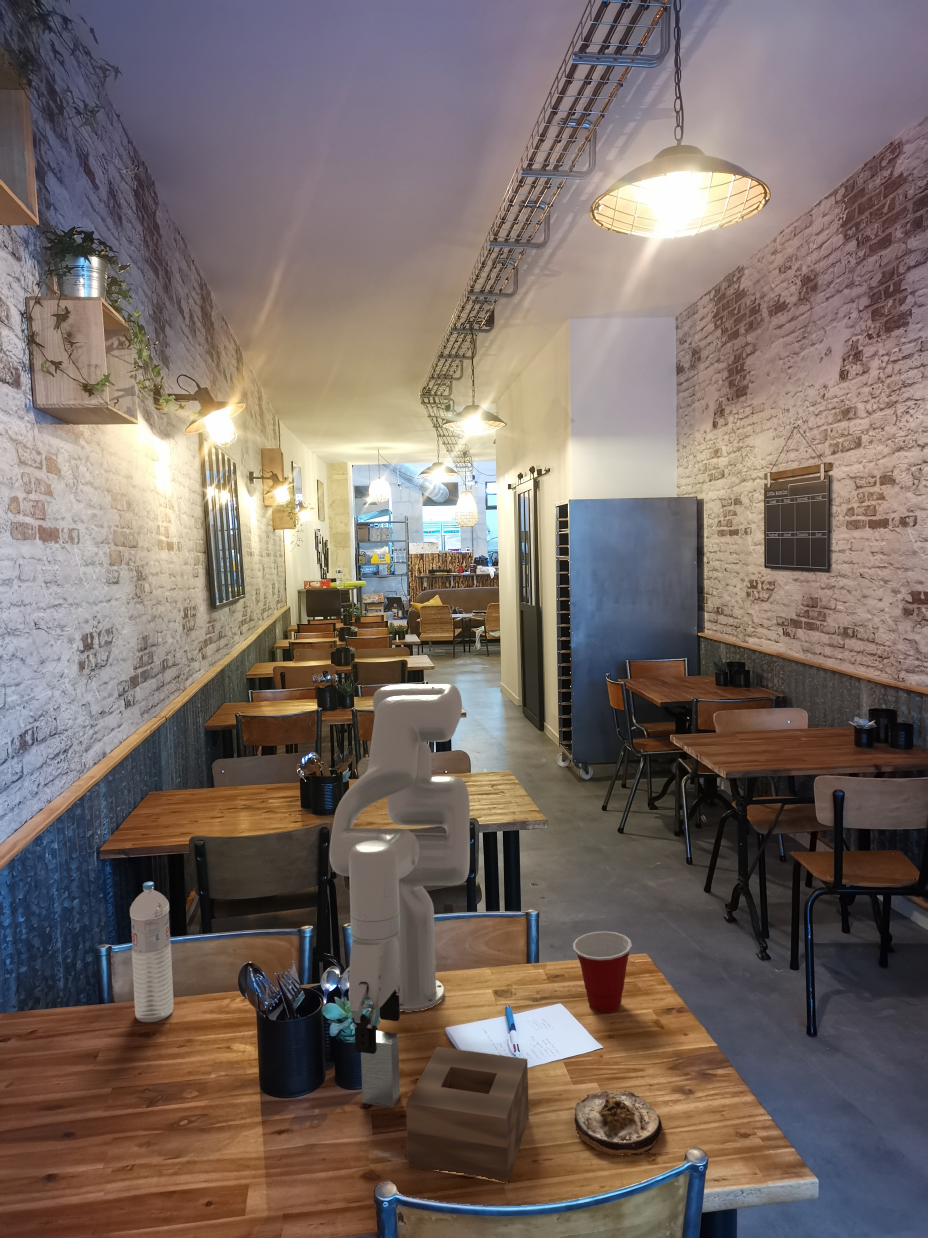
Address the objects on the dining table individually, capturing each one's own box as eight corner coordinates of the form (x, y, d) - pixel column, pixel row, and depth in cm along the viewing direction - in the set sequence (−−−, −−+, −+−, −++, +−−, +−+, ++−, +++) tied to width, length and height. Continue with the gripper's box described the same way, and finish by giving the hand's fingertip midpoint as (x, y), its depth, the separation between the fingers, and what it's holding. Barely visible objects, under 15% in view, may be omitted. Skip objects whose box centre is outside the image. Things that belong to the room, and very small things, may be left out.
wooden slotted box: (438, 1104, 129) (437, 1047, 128) (528, 1118, 125) (527, 1059, 124) (408, 1166, 115) (406, 1103, 115) (507, 1184, 111) (506, 1118, 111)
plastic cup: (567, 993, 161) (566, 932, 161) (622, 988, 162) (621, 928, 162) (581, 1023, 150) (580, 957, 150) (640, 1018, 152) (639, 953, 151)
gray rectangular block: (370, 1091, 132) (368, 1029, 132) (400, 1096, 131) (398, 1033, 130) (362, 1103, 129) (360, 1040, 129) (393, 1108, 128) (391, 1044, 127)
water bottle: (166, 1024, 154) (159, 890, 153) (129, 1024, 154) (122, 890, 153) (179, 1004, 161) (173, 876, 160) (143, 1005, 161) (137, 877, 160)
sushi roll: (684, 1163, 115) (684, 1134, 115) (576, 1170, 114) (575, 1140, 114) (655, 1096, 130) (654, 1070, 130) (558, 1102, 129) (558, 1075, 129)
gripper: (373, 902, 138) (376, 1006, 138) (328, 945, 121) (331, 1062, 121) (417, 906, 136) (419, 1011, 136) (377, 950, 119) (380, 1069, 119)
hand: (378, 1035), depth 129 cm, fingers open, 9 cm apart
